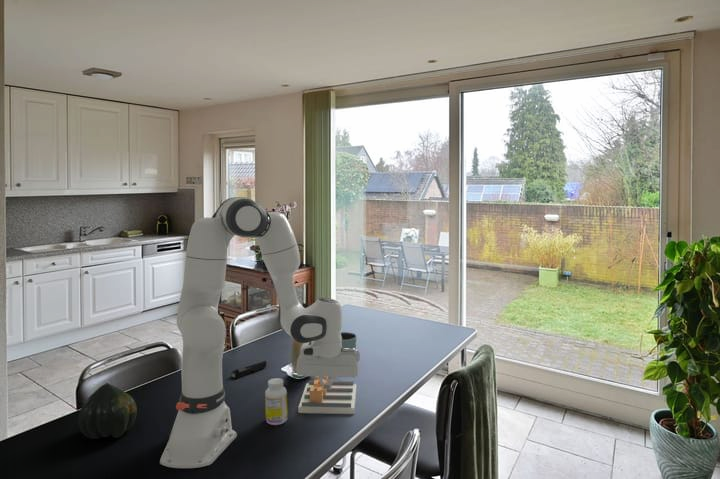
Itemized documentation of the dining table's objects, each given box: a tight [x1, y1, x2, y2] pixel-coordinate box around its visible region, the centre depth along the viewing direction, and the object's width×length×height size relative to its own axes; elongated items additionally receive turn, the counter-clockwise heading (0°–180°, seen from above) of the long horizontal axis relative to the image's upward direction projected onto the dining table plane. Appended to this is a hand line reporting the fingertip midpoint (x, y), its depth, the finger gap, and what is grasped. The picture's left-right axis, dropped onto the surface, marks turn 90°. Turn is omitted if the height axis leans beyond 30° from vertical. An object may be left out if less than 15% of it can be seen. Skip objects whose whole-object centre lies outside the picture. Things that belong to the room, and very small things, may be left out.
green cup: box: [341, 331, 357, 352], centre depth 187 cm, size 10×10×12 cm
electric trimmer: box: [229, 360, 267, 380], centre depth 178 cm, size 4×16×3 cm, turn 138°
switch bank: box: [297, 380, 357, 415], centre depth 155 cm, size 18×18×3 cm
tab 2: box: [313, 379, 327, 395], centre depth 154 cm, size 3×4×5 cm
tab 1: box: [315, 376, 329, 382], centre depth 160 cm, size 3×4×5 cm
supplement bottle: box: [264, 377, 288, 426], centre depth 141 cm, size 7×7×13 cm
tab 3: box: [310, 386, 323, 402], centre depth 149 cm, size 3×4×5 cm
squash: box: [77, 382, 138, 440], centre depth 134 cm, size 14×15×15 cm
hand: (327, 388), depth 148 cm, fingers closed
